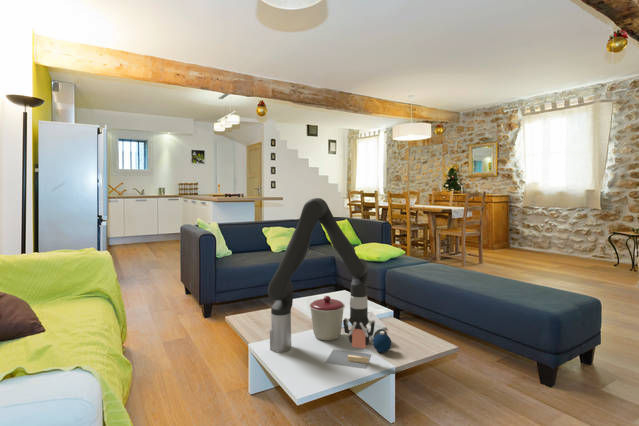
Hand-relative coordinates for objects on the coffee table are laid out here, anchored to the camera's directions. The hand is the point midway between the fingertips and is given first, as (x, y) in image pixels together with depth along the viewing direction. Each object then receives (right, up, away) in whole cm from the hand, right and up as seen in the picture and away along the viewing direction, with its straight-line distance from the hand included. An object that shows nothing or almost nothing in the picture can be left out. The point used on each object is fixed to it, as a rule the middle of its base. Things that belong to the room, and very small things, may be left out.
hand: (359, 343), depth 159 cm
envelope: (+10, -6, +47) cm, 48 cm away
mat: (-4, -8, +2) cm, 9 cm away
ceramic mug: (+10, -7, +21) cm, 24 cm away
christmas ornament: (+12, -7, +10) cm, 17 cm away
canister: (-13, -6, +27) cm, 31 cm away
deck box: (0, -1, 0) cm, 1 cm away
